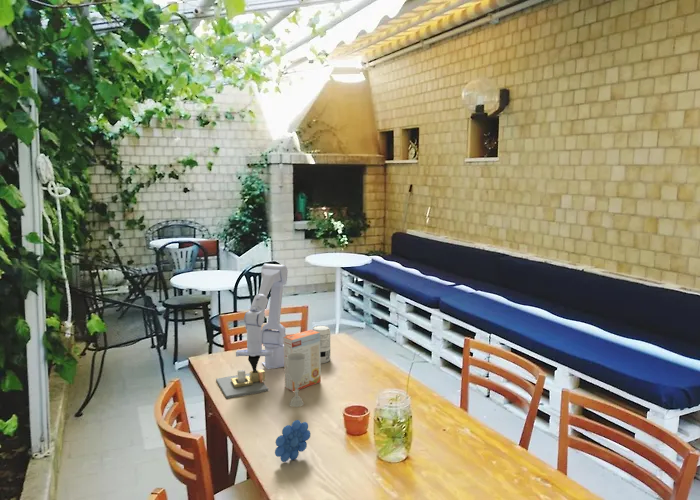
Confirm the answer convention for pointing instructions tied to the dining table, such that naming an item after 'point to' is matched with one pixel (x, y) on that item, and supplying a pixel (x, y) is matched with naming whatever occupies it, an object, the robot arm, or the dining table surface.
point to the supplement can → (324, 342)
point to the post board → (244, 390)
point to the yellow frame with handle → (249, 379)
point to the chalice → (296, 374)
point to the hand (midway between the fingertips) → (254, 373)
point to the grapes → (292, 441)
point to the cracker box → (311, 348)
